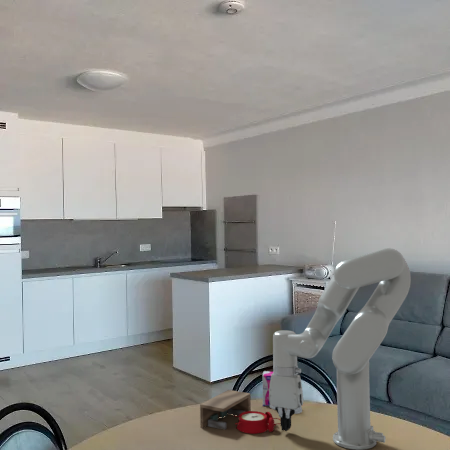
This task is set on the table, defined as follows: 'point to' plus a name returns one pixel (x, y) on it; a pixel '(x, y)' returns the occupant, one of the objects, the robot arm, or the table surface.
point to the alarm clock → (255, 422)
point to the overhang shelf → (223, 408)
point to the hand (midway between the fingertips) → (285, 429)
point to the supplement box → (266, 387)
